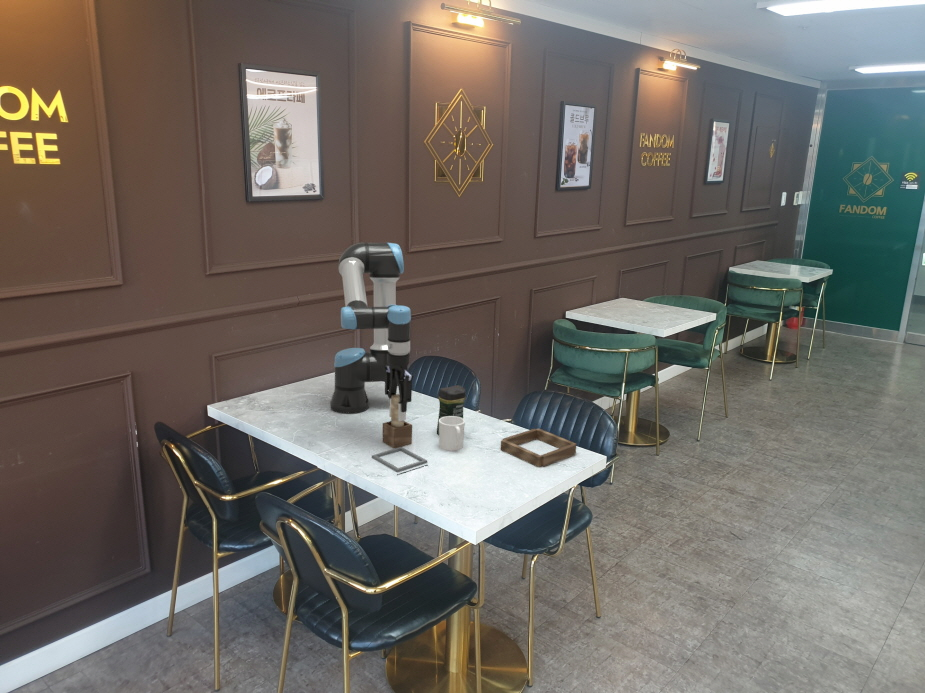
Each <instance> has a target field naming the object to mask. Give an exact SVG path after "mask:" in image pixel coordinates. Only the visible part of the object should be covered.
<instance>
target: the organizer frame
mask: <svg viewBox="0 0 925 693" xmlns="http://www.w3.org/2000/svg"><path fill="white" fill-rule="evenodd" d="M535 440H538V441H540V442H543V443H545V444H547V445H550V446H552V447H555V448H556V449H553V450H552V451H551V450H550V451H549V452H546V453H543V454H538V453H536V452H534V451H531V450H529V449H527V448H526V447H525V448H524V447H522V446H521V445H523V444H526V443H529V442H533V441H535ZM500 451H502V452H504V453H506V454H508V455H511V456H512V457H515V458H517V459H519V460H522V461H524V462H526V463H528V464H530V465H533V466H535V467H537V468H541V467H546V466H550V465H551V464H554V463H558V462H560V461H562V460H565V459H567V458H570V457H573V456H575V455H576V453H577V442H576V443H575V442H573V441H572V440H568V439H565V438H563V437H561V436H558V435H556V434H554V433H551V432H548V431H546V430H544V429H541V428H539V427H538V428H531V429H529V430H525V431H523V432H522V431H521V432H520V433H516V434H513V435H511V436H507V437H504V438H502V439H501V440H500Z"/></svg>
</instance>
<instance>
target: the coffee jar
mask: <svg viewBox="0 0 925 693" xmlns="http://www.w3.org/2000/svg"><path fill="white" fill-rule="evenodd" d="M437 397H438V402H439V410H438V419H437V424H436V435H438V436H439V419H440V418H442V417H446V416H456V417H460V418H463V419H464V407H465V406H464V404H465V401H466V398H467V397H466V388H465V387H463V386H461V385H460V384H459V385H458V384H456V385H452V386H447V387H440V388H439V390H438V396H437Z"/></svg>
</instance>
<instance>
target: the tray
mask: <svg viewBox="0 0 925 693" xmlns="http://www.w3.org/2000/svg"><path fill="white" fill-rule="evenodd" d="M399 452H403V453H404V454H406V455H408V456H410V457H411V458H413V459H415V460H416V462H413V463H410V464H407V465H404V466H401V467H397V466H395V465H393V464H392V463H390V462H389V461H387V460H384V459H383V458H381V457H384V456H387V455H390V454H391V455H392V454H395V453H399ZM371 459H374V460H375V461H376V462H378V463H381V464H382V465H383V466H386V467H387V468H389V469H391V470H392V471H394V472H396V473H397V474H396V476H400V475H403V474H406V473H408V472H412V471H414V470H418V469H421V468H424V466H425V467H427V466H428V459H425V458H423V457H422V456H419V455H418V454H416V453H414V452H413V451H410V450H408V449H406V448H405V447H404V446H403V447H399V448H395V449H394V448H392V449H389V450H385V451H382V452H378V453H376V454H373V455H372V454H371ZM409 469H410V470H409Z"/></svg>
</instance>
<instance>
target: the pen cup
mask: <svg viewBox="0 0 925 693" xmlns="http://www.w3.org/2000/svg"><path fill="white" fill-rule="evenodd" d="M382 443H383V444H385V445H387V446H389V447H390V448H392V449H395V448H399V447H403V448H404V447H406V446H410V445H412V444H413V424H411V423H409V422H407V421H406V420H404V426H402V427H398V428H394V427H392V426H391V420H390V421H386V422H382Z"/></svg>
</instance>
